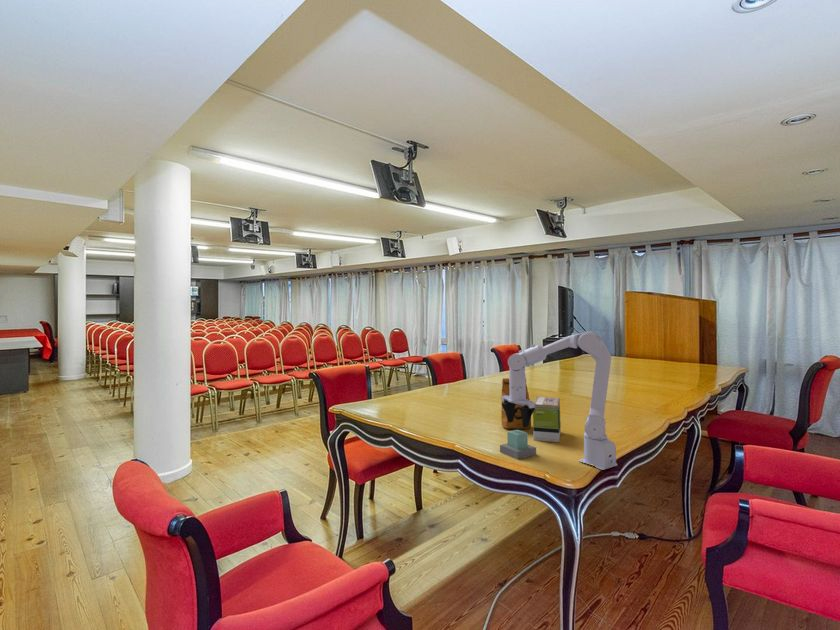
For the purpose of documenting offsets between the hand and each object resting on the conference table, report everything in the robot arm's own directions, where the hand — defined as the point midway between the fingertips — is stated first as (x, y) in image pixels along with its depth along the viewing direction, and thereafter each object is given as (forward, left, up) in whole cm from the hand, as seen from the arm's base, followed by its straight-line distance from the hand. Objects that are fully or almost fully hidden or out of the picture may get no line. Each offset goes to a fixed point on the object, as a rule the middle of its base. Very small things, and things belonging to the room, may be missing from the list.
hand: (517, 424), depth 148 cm
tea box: (+9, -25, -11) cm, 28 cm away
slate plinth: (0, 0, -10) cm, 10 cm away
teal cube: (0, 0, -8) cm, 8 cm away
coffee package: (+25, -23, -11) cm, 35 cm away
